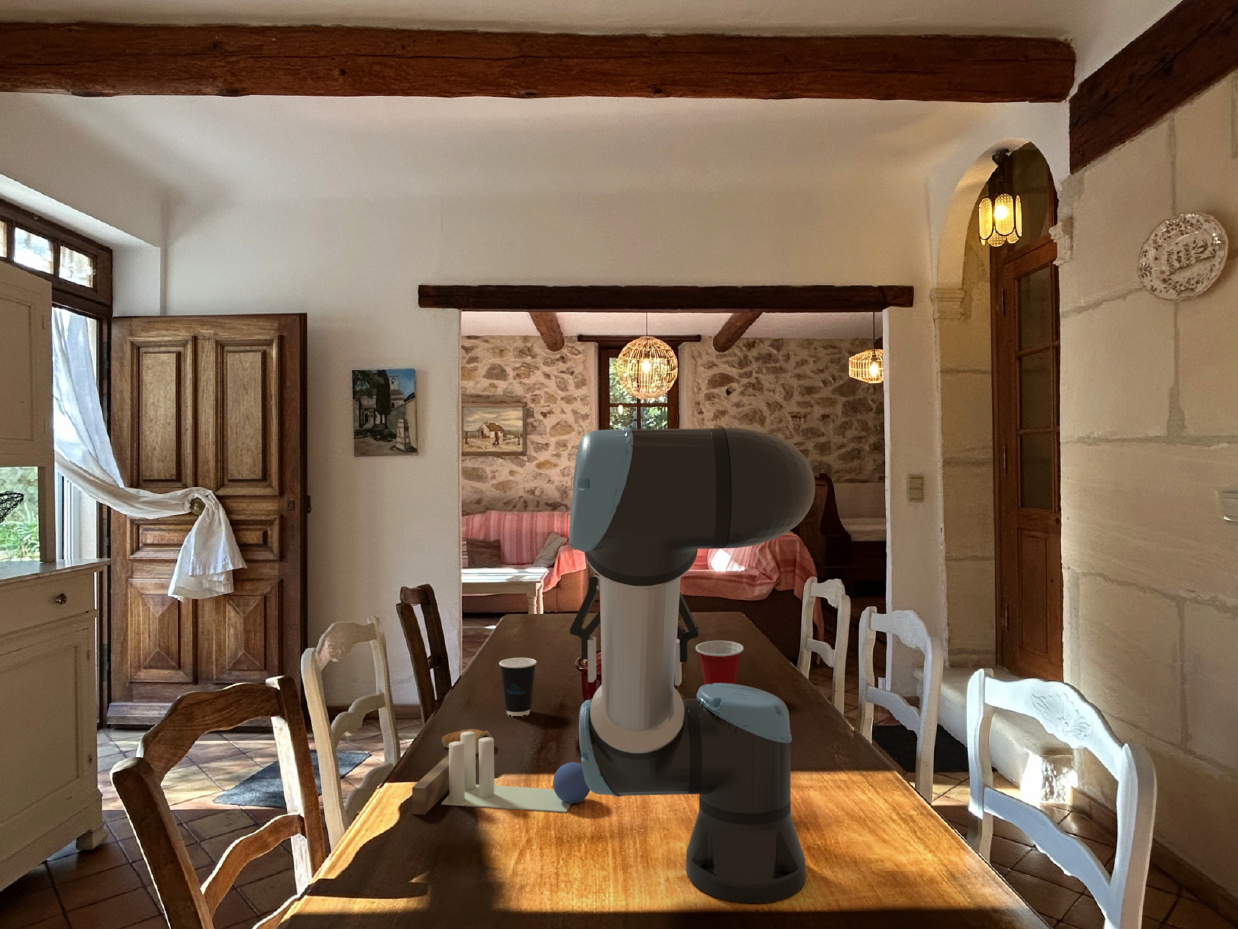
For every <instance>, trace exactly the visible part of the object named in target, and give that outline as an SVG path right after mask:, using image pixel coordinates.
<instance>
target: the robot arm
mask: <svg viewBox="0 0 1238 929" xmlns="http://www.w3.org/2000/svg"><path fill="white" fill-rule="evenodd" d="M577 445H578V446H577V450H576V457H575V462H574V464H575V465H574V472H573V479H572V495H571V502H570V512H569V528H568V544H569V547H570V548H571V549H573V550H576V551H577V550H578V551H580V552H582V553H584V556H585V559H586V563H587V564H588V565H589V567H590V568H591V569H592V570H593V572H594V573H596V574H594V575H593V576H591V577H590V578H589V582H588V583H589V584H588V591H587V593H586V595H585V597H584V599H583V602H581V605H580V607H579V610H578V612H577V614H576V616H575V618H574V620H573V622H572V623H571V626H570V628H569V634H570V635H572V636H575V637H578V638H579V639H580V640H581V641H580V642H581V647H580V648H581V652H580V654H581V658H582V660H587V682H588V683H594V682H595V680H597V637H596V636H592V635H593V633H594V632H595V631H596V630H597V629H598V628H599V626H600V651H601V652H600V659H601V660H600V661H601V665H600V666H601V684H600V686H599V687H598V688H597V689H596V691H595V693H594V694H593V696H592V698H591V699H587V700H585V701H584V702H583V703H581V706H580V708H579V714H578V716H579V717H578V734H579V735H578V737H579V738H578V740H579V751H580V755H581V756H580V758H581V760H580V761H581V765H582V769H583V774H584V778H585V781H586V784H587V786H588V788H589V789H590V792H592V793H594V794H595V795H601V796H604V795H605V796H613V797H616V798H620V797H624V796H625V797H628V796H630V797H632V796H635V797H636V796H669V795H670V796H671V795H672V796H674V795H676V796H677V795H679V796H680V795H698V798H699V799H698V800H699V801H698V802H699V803H698V804H699V805H698V813H697V816H696V820H695V822H694V825H693V829H692V832H691V835H690V839H689V842H688V844H687V848H686V852H685V872H686V876H687V878H688V879H689V881H690V882H691V883H692V884H693V886H695V887H696V888H697V889H698V890H700V891H702V892H703V893H706V894H708V895H710V896H713V897H715V898H718V899H722V900H725V901H730V902H733V903H734V902H735V903H743V904H763V903H773V902H777V901H781V900H785V899H787V898H790V897H792V896H794V895H795V894H797V893H798V892H800V890H801V889H802V888H803V887H804V886H805V884H806V881H807V880H806V876H807V874H806V870H807V869H806V867H807V866H806V857H805V854H804V852H803V847H802V845H801V842H800V839H799V835H798V833H797V830H796V826H795V823H794V821H793V817H792V809H791V808H792V807H791V804H792V801H791V800H792V799H791V796H792V795H791V793H792V790H791V789H792V787H791V785H792V784H791V782H792V781H791V780H792V779H791V775H792V774H791V743H792V740H793V738H792V737H793V736H792V734H791V724H790V722H791V721H790V714H789V710H788V707H787V705H786V703H785V702H784V701H783V700H782V699H780V698H779V697H778V696H776V695H775V694H773V693H771V692H768V691H765V690H763V689H760V688H757V687H753V686H747V685H741V684H737V683H736V684H728V683H713V684H706V685H705V684H703V685H701V686H700V687H699V688H698V691H697V692H696V697H695V698H682V697H681V696H682V695H681V694H680V692H679V691H678V690H677V689H676V687H675V686H681V684H682V682H683V681H682V679H683V678H682V674H683V673H682V670H683V669H682V663H687V662H688V659H689V641H690V640H692V639H696V638H699V635H700V632H701V630H700V627H699V626H698V624H697V622H696V620H695V618H694V616H693V614H692V612H691V610H690V608H689V606H688V604H687V602H686V600H685V598H684V596H683V594H682V592H681V578H682V577H683V576H685V575H686V574H687V573H688V572H689V571H690V570H691V569H692V567H693V566H694V564H695V562H696V560H697V556H698V550H707V549H708V550H711V549H713V550H714V549H715V550H717V549H719V550H721V549H739V548H745V547H746V548H747V547H752V546H757V545H759V544H764V543H766V542H769V541H772V540H774V539H777V538H780V537H781V536H783V535H785V534H787V533H789V531H791V530H793V529H794V528H795V527H797V526H798V525H799V524H800V523H801V522H802V521H803V520H804V519H805V517H806V516H807V514H808V512H809V511H810V509H811V507H812V506H813V504H814V503H813V502H814V499H815V494H816V481H815V475H814V472H813V470H812V466H811V465H810V463H809V461H808V459H807V458H806V457H805V455H804V454H803V453H802V452H801V451H800V450H799V449H798V448H796V447H795V446H794V445H792V444H791V443H788V442H787V441H786V440H784V439H782V438H780V437H777V436H775V435H773V434H769V433H765V432H762V431H759V430H755V429H754V430H753V429H749V428H748V429H747V428H741V427H721V428H720V427H719V428H717V427H716V428H708V427H706V428H704V427H703V428H656V429H655V428H653V429H652V428H651V429H649V428H648V429H647V428H644V429H643V428H642V429H631V427H629V426H620V427H619V428H615V429H612V428H611V429H598V430H596V429H594V430H591V431H589V432H587V433H585V434H584V435H583V436H582V437H581V438H580V441H579V443H578V444H577ZM598 593H599V605H600V606H599V607H600V609H599V612H598V613H597V614H596V615H595V616H594V617H593V619H592V620H590V622H589V623H588V624H587V625H586V627H583V626H584V623H585V621H586V619H587V616H588V615H589V612H590V610H591V608H592V607H593V604H594V602H595V600H596V598H597V596H598ZM679 614H680V616H681V619H682V621H683V622H684V624H685V626H686V628H687V630H686V629H685V628H684V626H683V625H682V624H681V623H680V622H679Z"/></svg>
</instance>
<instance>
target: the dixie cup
mask: <svg viewBox="0 0 1238 929" xmlns="http://www.w3.org/2000/svg"><path fill="white" fill-rule="evenodd" d="M537 662H538V661H537V660H535V659H534V658H530V657H529V658H528V657H512V658H506V659H502V660H500V661H499V663H498V664H499V665H500V672H501V680H502V682H501V683H502V687H503V688H502V689H503V698H504V699H503V700H504V707H505V711H506V715H507V714H508V715H507V716H509V715H511V716H510V717H513V716H521V717H524V716H523V715H526V716H528V715H530V713H531V712H530V711H531V709H532V699H533V691H534V681H535V670H536V664H537Z"/></svg>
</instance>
